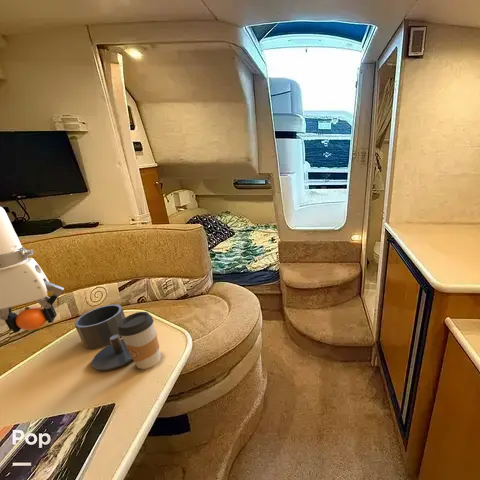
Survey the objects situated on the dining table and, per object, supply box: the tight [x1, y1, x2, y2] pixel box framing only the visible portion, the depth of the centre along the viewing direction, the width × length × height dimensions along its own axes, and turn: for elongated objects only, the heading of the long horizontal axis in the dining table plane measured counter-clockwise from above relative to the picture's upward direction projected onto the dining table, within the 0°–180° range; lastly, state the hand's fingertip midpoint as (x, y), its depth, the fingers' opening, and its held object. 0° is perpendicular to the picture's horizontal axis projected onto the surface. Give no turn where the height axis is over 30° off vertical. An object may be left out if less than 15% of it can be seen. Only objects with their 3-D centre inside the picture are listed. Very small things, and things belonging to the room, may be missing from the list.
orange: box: [15, 306, 48, 331], centre depth 67 cm, size 6×6×6 cm
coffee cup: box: [118, 311, 162, 370], centre depth 77 cm, size 8×8×15 cm
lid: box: [91, 335, 133, 372], centre depth 82 cm, size 14×14×7 cm
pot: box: [74, 303, 126, 350], centre depth 91 cm, size 13×13×8 cm
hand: (35, 324), depth 68 cm, fingers closed on orange, 5 cm apart
